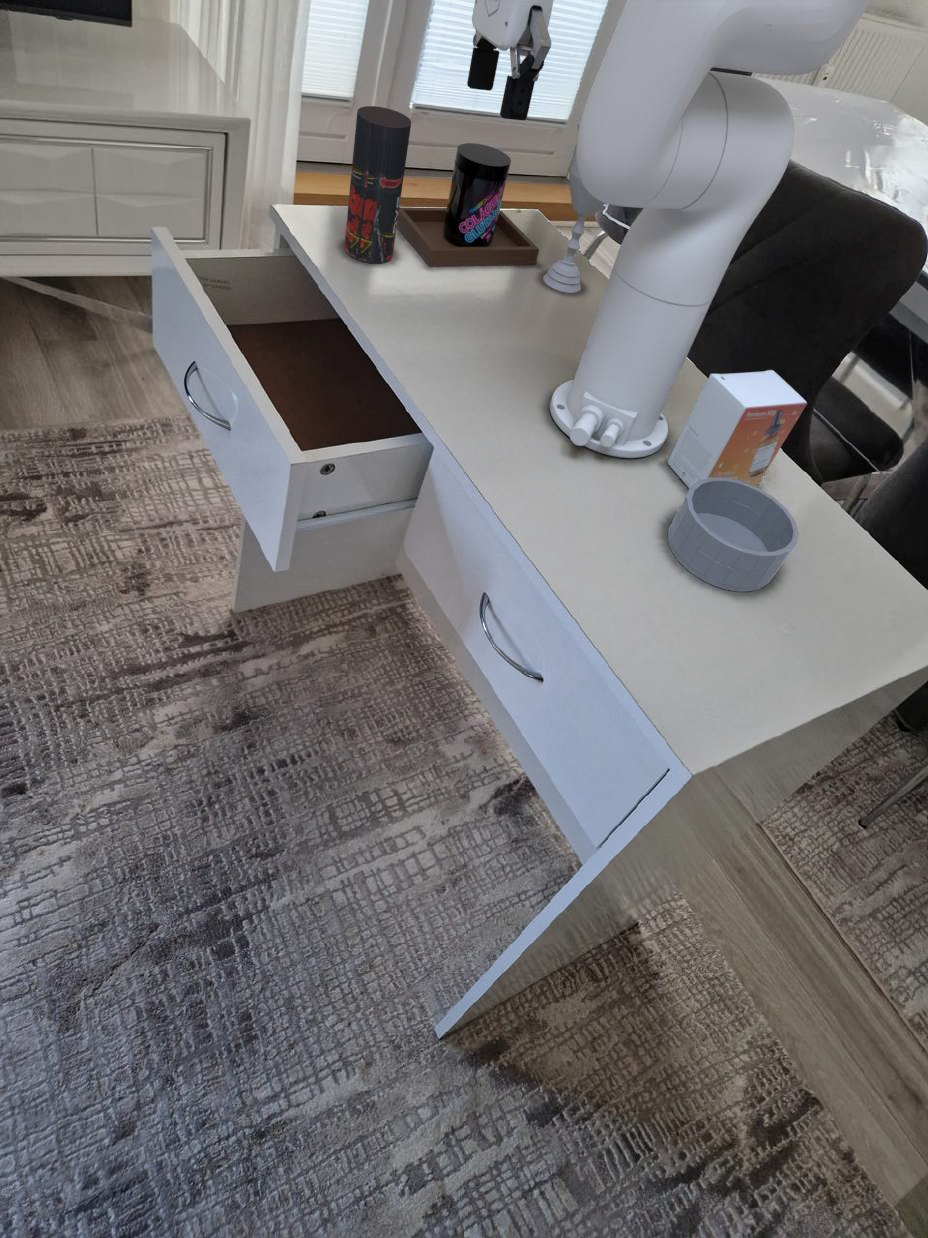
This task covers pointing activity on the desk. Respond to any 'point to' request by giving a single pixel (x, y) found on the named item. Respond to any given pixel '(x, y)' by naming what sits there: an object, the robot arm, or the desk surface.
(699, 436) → the small box
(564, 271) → the chalice
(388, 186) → the deodorant
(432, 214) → the walnut tray
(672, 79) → the robot arm
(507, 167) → the supplement container
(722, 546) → the gray bowl
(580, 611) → the desk surface
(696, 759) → the desk surface
